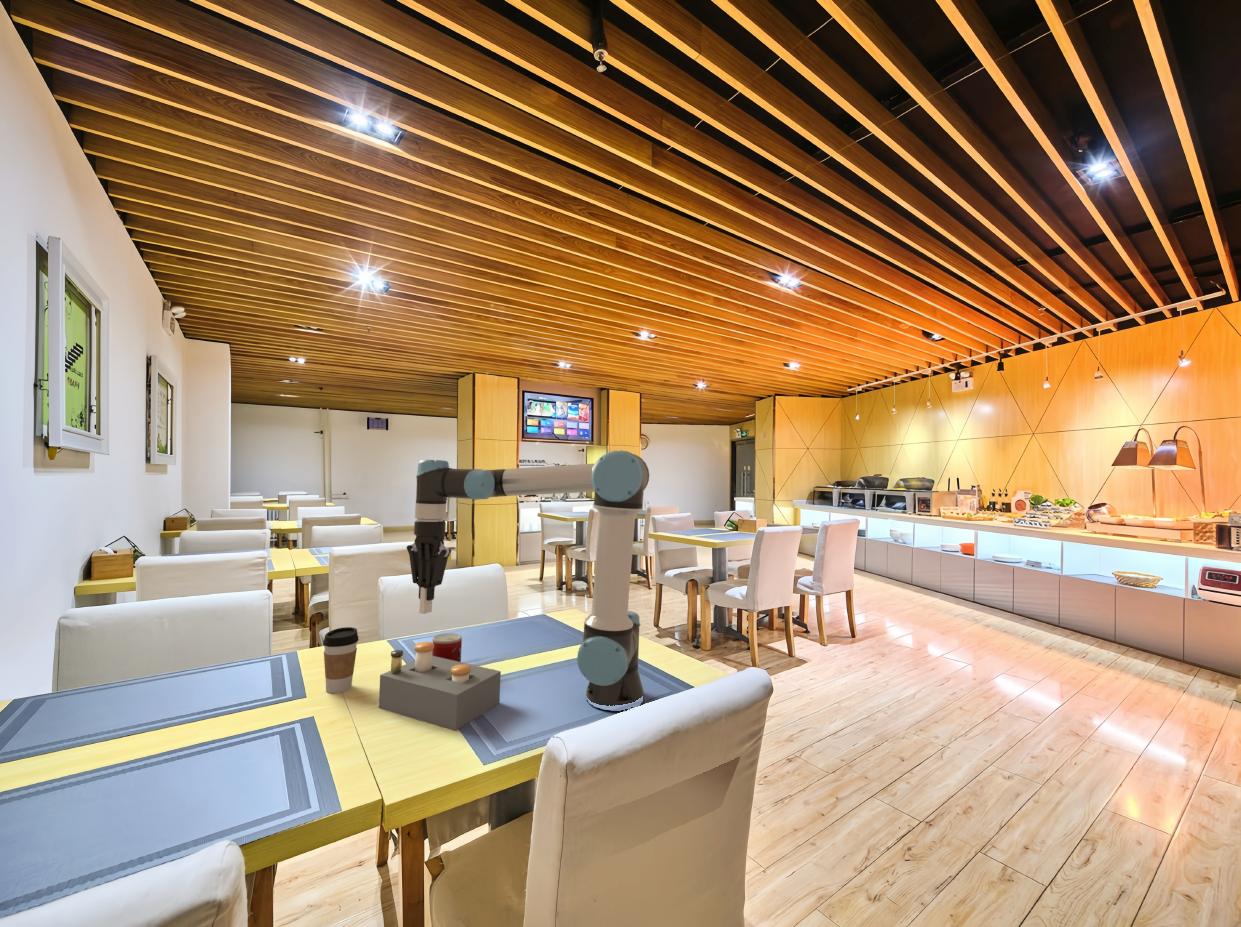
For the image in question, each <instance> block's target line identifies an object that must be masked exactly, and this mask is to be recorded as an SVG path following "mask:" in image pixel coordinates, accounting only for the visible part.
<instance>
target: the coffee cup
mask: <svg viewBox="0 0 1241 927" xmlns="http://www.w3.org/2000/svg"><path fill="white" fill-rule="evenodd" d="M359 640H360V639H359V635H358V629H357V628H356V627H352V626H350V627H349V626H345V627H338V628H335V629H332V630H330V631H328V632H327V633H326V634H324V639H323V640H322V645H323V648H324V651H323V661H324V663H323V664H324V675H325V676H324V677H325V691H326V693H329V694H341V693H344V692H348V691H349V690H351V689H352V684H353V677H354V676H353V675H354V672H355V665H356V664H355V663H356V659H357V658H356V657H357V649H358V648H357V645H358V644H357V643H358V641H359Z"/></svg>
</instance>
